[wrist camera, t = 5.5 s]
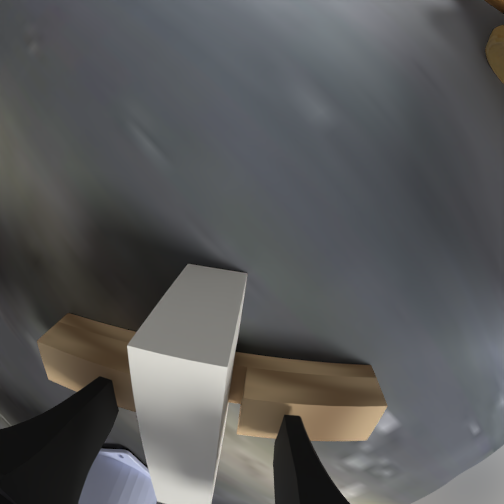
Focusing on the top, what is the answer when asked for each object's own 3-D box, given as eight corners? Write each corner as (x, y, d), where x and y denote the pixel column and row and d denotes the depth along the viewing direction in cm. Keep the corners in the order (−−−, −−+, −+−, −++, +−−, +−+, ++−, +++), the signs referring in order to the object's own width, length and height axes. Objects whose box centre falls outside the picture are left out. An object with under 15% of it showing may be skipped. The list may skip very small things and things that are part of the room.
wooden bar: (75, 349, 14) (48, 379, 11) (68, 312, 14) (36, 340, 11) (355, 399, 14) (366, 440, 11) (371, 365, 13) (387, 406, 10)
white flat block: (183, 419, 15) (157, 501, 10) (187, 263, 12) (126, 345, 7) (225, 427, 15) (209, 513, 10) (247, 273, 12) (227, 367, 7)
